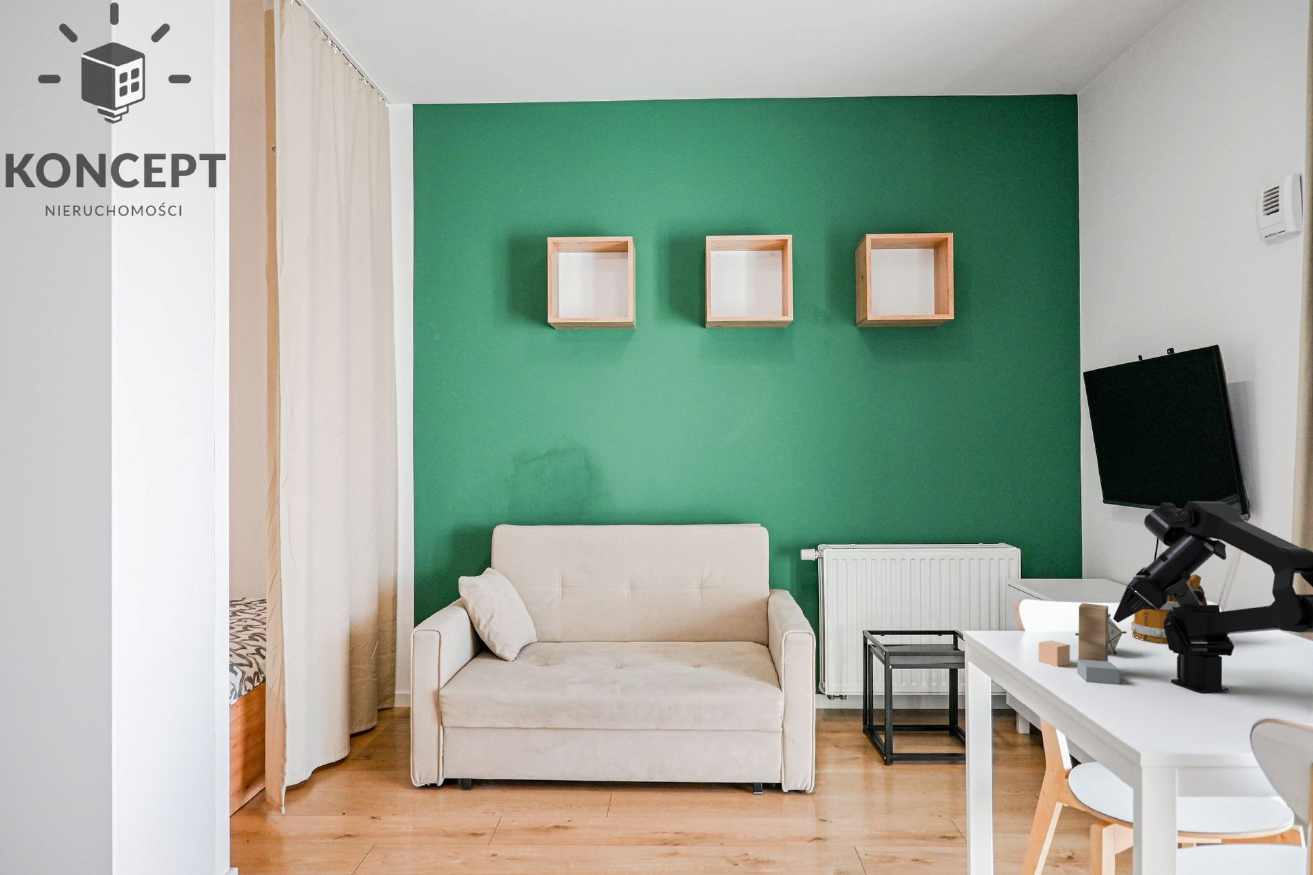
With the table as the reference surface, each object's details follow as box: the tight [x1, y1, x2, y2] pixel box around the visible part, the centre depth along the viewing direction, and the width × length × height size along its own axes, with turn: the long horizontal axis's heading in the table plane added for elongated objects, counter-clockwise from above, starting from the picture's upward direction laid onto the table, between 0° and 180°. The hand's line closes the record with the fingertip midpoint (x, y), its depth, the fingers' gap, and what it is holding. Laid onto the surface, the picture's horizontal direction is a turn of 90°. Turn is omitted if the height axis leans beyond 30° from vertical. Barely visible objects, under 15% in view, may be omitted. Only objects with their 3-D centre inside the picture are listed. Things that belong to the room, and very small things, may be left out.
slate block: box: [1076, 658, 1120, 685], centre depth 147 cm, size 6×6×3 cm
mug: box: [1130, 573, 1208, 645], centre depth 180 cm, size 11×16×15 cm, turn 88°
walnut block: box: [1078, 602, 1109, 662], centre depth 153 cm, size 4×4×12 cm
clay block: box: [1038, 640, 1071, 667], centre depth 158 cm, size 4×4×4 cm
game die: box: [1074, 613, 1128, 655], centre depth 167 cm, size 9×8×10 cm
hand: (1117, 616), depth 151 cm, fingers open, 9 cm apart
